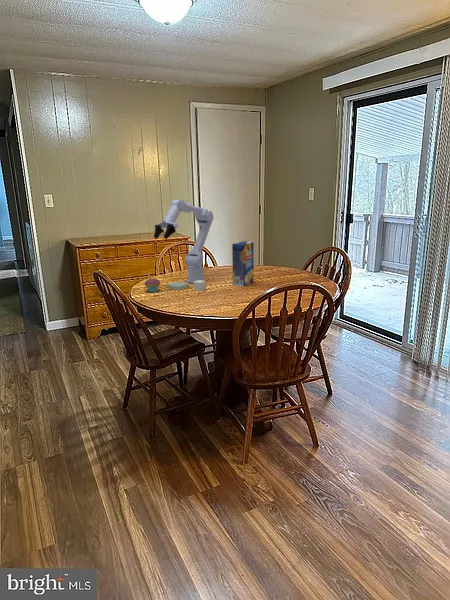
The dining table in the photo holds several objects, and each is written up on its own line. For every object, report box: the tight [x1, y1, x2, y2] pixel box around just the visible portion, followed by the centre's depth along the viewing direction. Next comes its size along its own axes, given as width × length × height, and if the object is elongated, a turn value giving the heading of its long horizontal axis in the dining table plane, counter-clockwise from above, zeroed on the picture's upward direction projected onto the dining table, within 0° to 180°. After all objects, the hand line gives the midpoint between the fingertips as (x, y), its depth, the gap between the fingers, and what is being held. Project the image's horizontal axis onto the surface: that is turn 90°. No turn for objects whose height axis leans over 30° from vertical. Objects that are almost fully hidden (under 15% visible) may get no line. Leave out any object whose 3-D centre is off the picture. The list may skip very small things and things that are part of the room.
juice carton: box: [231, 240, 255, 287], centre depth 236 cm, size 12×8×24 cm, turn 149°
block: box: [193, 280, 207, 292], centre depth 227 cm, size 5×5×5 cm
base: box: [166, 281, 190, 291], centre depth 234 cm, size 9×9×2 cm
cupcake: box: [144, 270, 161, 293], centre depth 226 cm, size 9×8×12 cm
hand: (160, 238), depth 217 cm, fingers open, 7 cm apart
